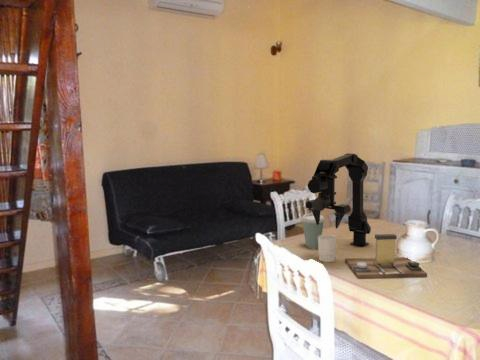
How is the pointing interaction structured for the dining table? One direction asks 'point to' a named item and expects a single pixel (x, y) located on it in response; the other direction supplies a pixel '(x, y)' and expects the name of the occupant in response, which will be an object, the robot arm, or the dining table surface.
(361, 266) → the grey push button
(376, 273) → the control panel
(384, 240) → the yellow upright block
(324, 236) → the white cup
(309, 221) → the disposable coffee cup
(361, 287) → the dining table surface
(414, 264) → the black rocker switch
